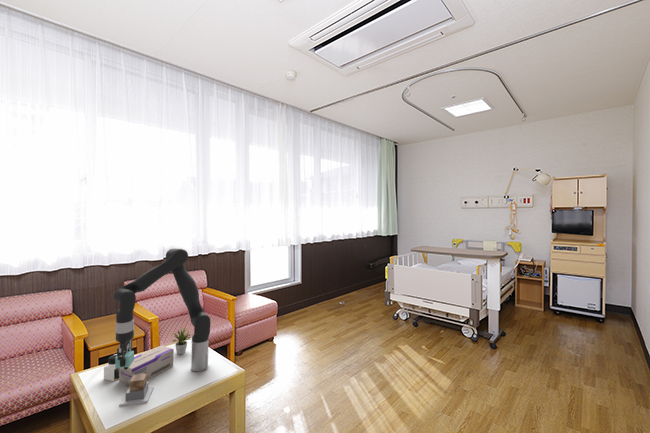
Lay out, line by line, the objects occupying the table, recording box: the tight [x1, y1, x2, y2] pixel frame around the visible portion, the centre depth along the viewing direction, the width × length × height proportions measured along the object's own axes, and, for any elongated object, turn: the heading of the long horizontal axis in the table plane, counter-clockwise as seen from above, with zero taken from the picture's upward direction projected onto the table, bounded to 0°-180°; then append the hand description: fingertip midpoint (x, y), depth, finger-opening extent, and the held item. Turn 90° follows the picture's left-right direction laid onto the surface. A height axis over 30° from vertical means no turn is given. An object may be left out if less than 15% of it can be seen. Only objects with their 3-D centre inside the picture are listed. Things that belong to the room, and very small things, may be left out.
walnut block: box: [130, 373, 148, 391], centre depth 152 cm, size 6×6×5 cm
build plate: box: [119, 381, 155, 407], centre depth 152 cm, size 12×12×5 cm
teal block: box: [115, 350, 135, 368], centre depth 149 cm, size 6×6×5 cm
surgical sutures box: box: [118, 344, 174, 388], centre depth 172 cm, size 25×11×11 cm, turn 155°
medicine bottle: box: [103, 353, 119, 382], centre depth 168 cm, size 7×7×12 cm
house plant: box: [172, 326, 193, 355], centre depth 196 cm, size 14×14×16 cm
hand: (125, 362), depth 149 cm, fingers closed on teal block, 6 cm apart
